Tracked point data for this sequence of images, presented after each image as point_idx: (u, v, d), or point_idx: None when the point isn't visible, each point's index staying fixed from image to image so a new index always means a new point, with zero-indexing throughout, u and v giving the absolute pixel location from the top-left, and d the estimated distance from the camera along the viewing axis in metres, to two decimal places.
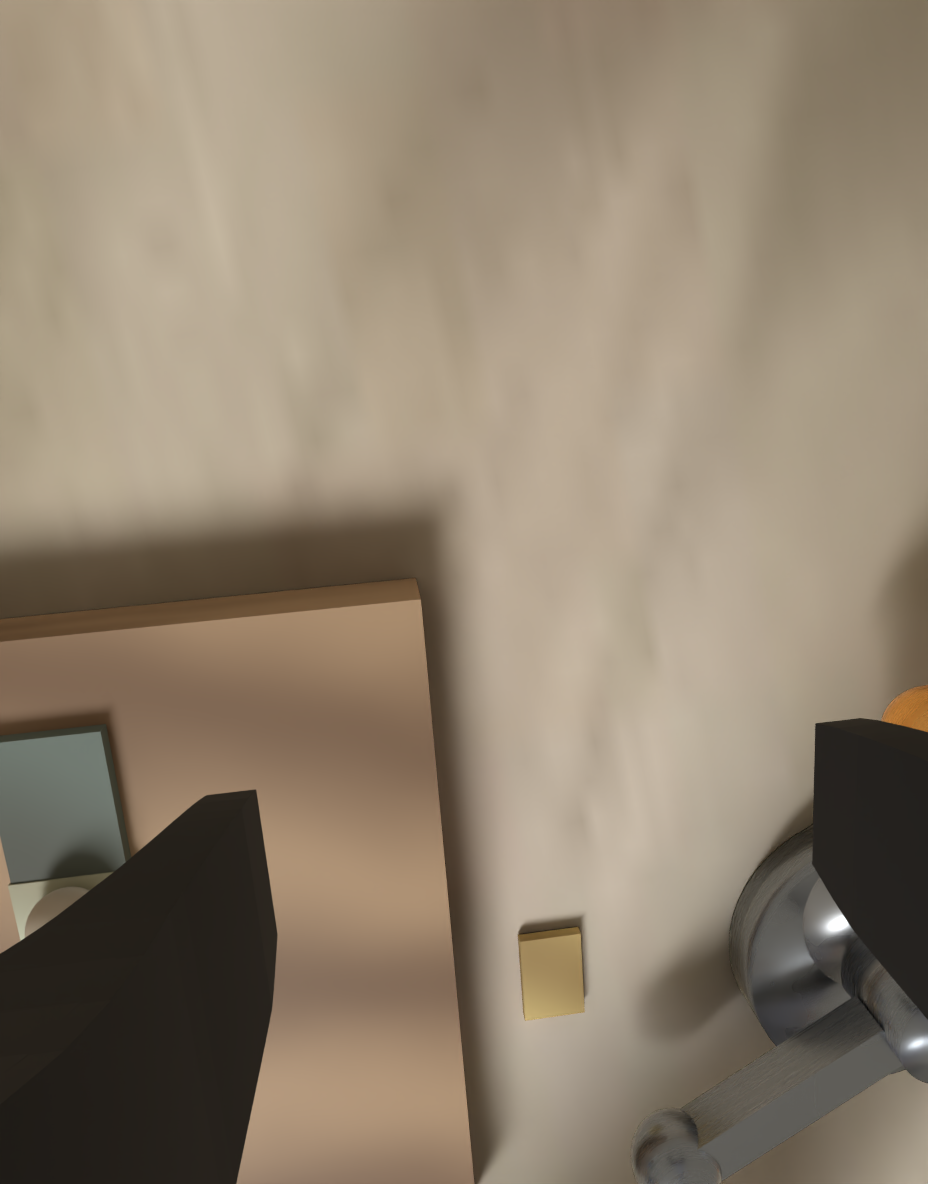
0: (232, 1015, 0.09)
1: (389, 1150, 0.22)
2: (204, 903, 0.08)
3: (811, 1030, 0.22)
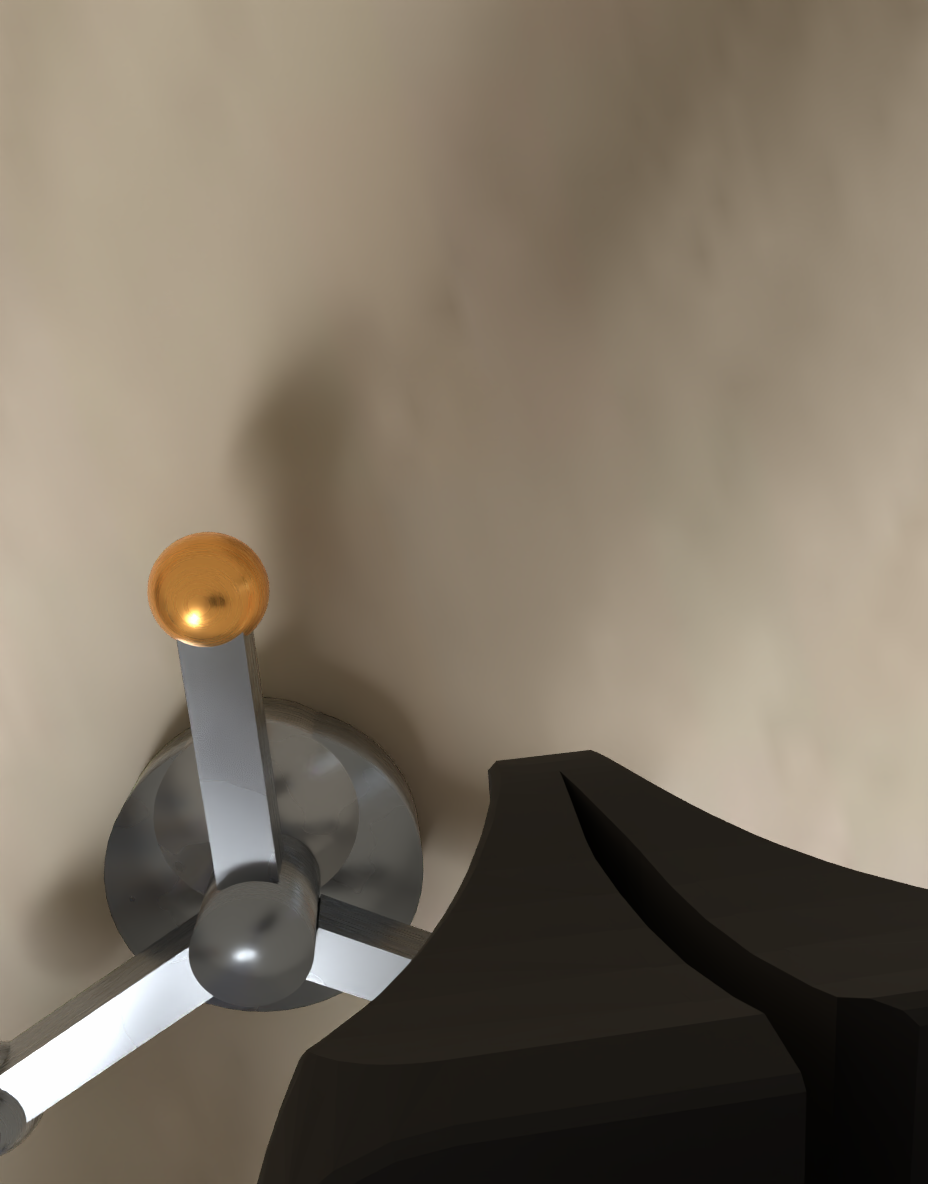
0: None
1: None
2: None
3: (149, 949, 0.19)
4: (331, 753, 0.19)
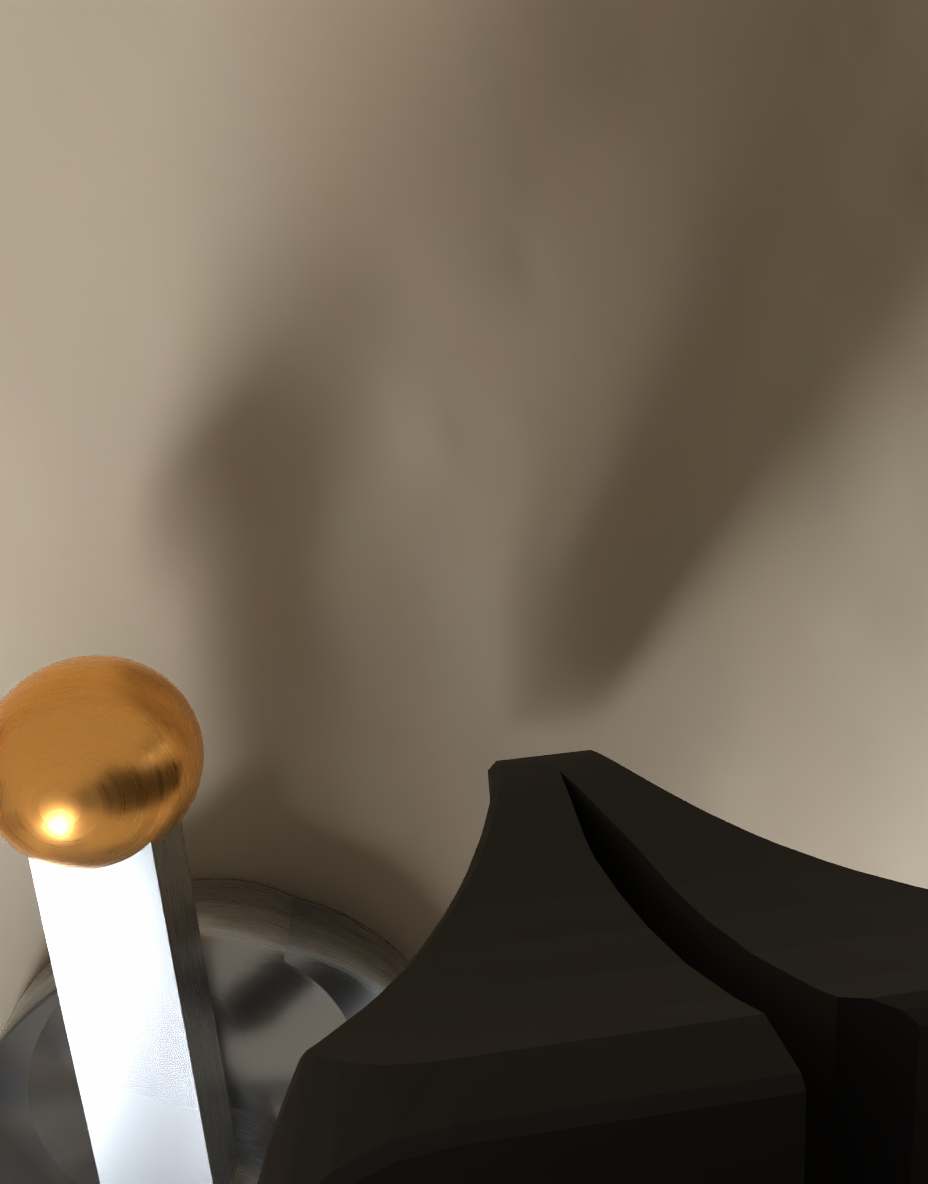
0: None
1: None
2: None
3: None
4: (316, 986, 0.12)
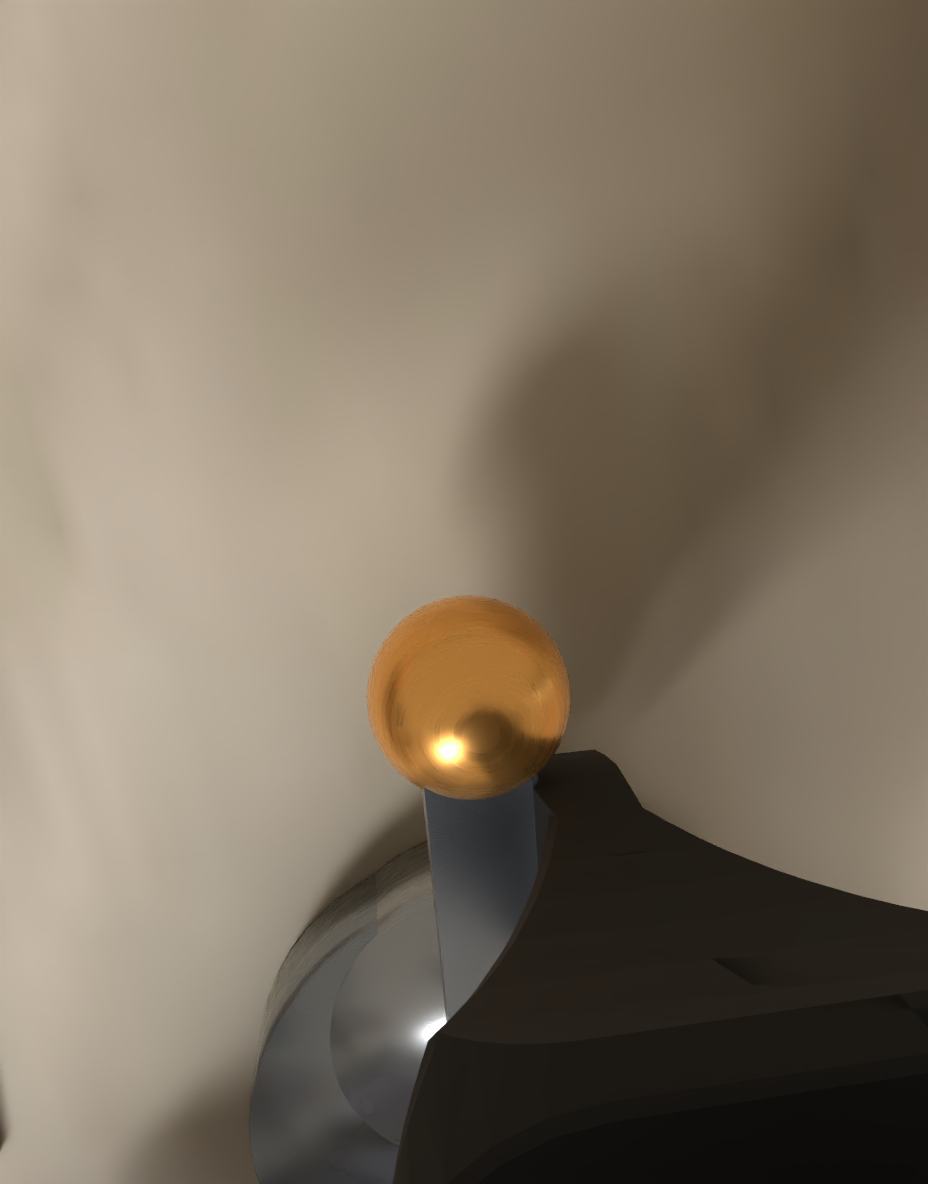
0: None
1: None
2: None
3: None
4: None
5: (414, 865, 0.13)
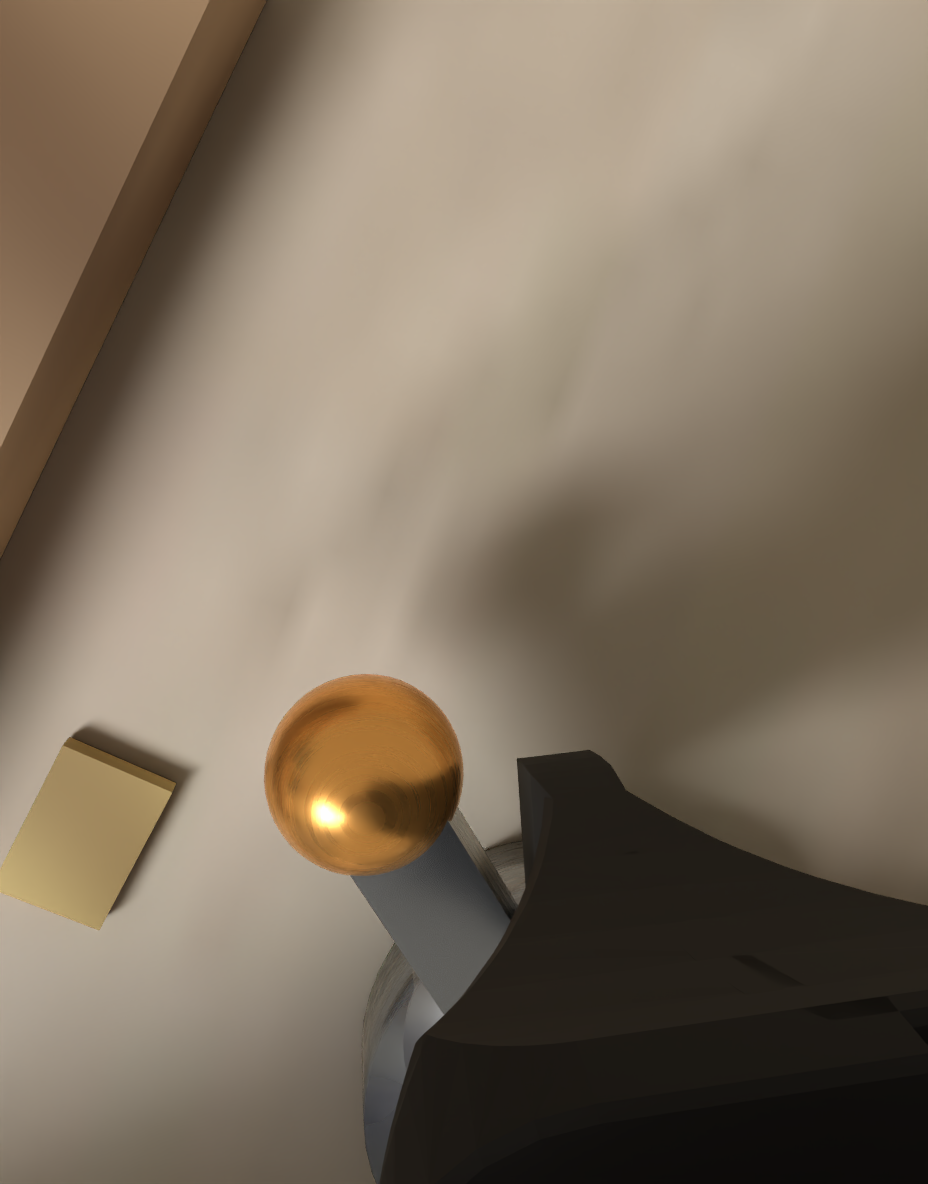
0: None
1: None
2: None
3: None
4: None
5: None
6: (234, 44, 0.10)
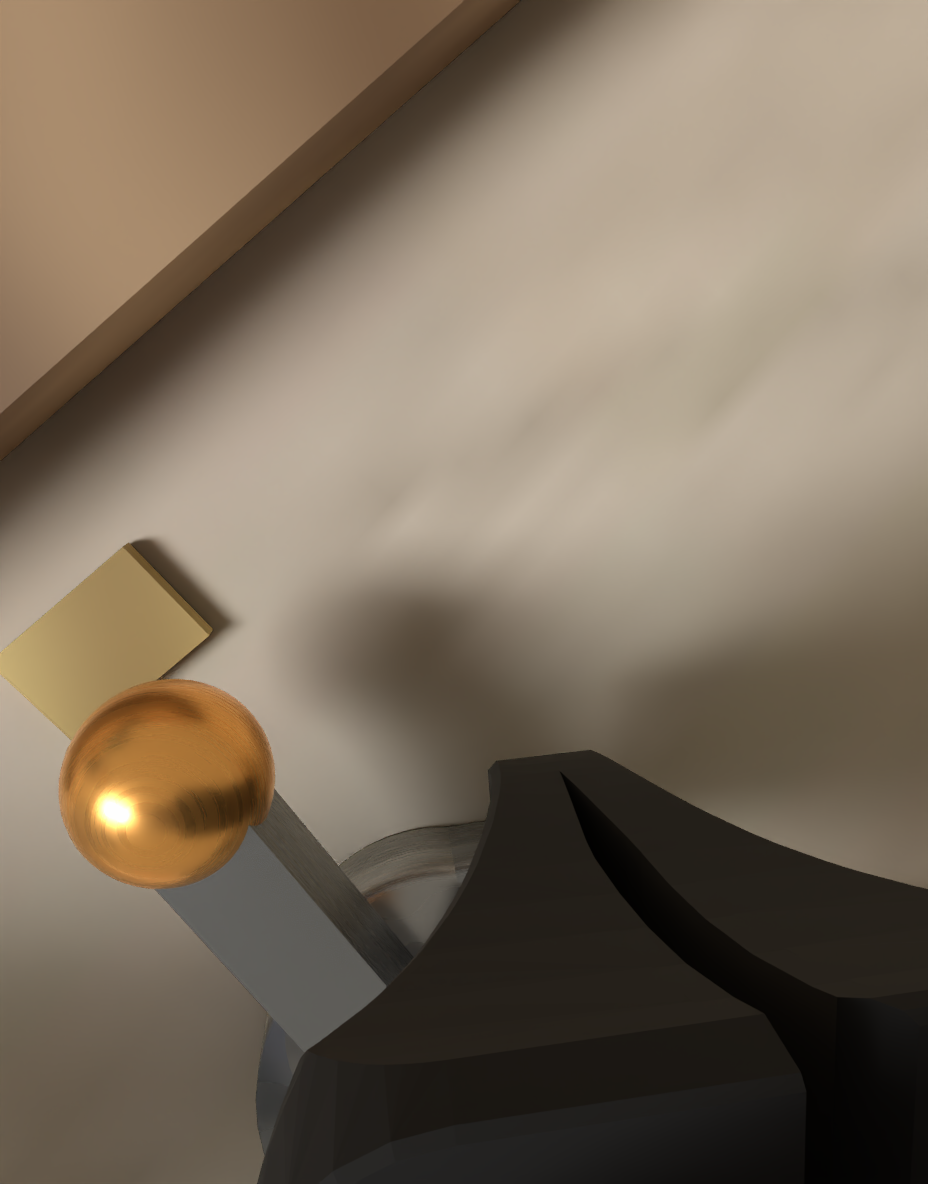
0: None
1: None
2: None
3: None
4: None
5: None
6: None
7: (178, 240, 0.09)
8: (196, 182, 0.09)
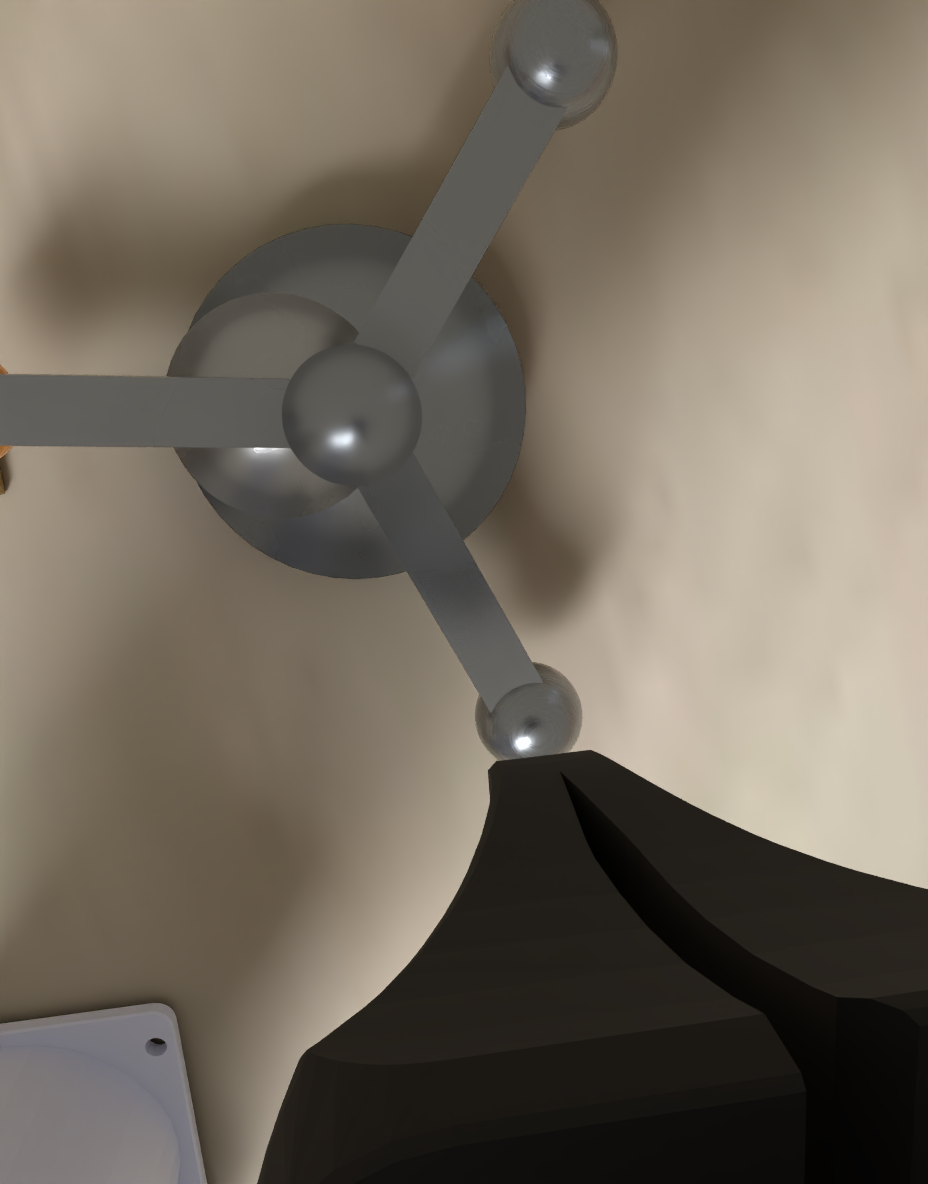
0: None
1: None
2: None
3: None
4: (206, 315, 0.17)
5: None
6: None
7: None
8: None
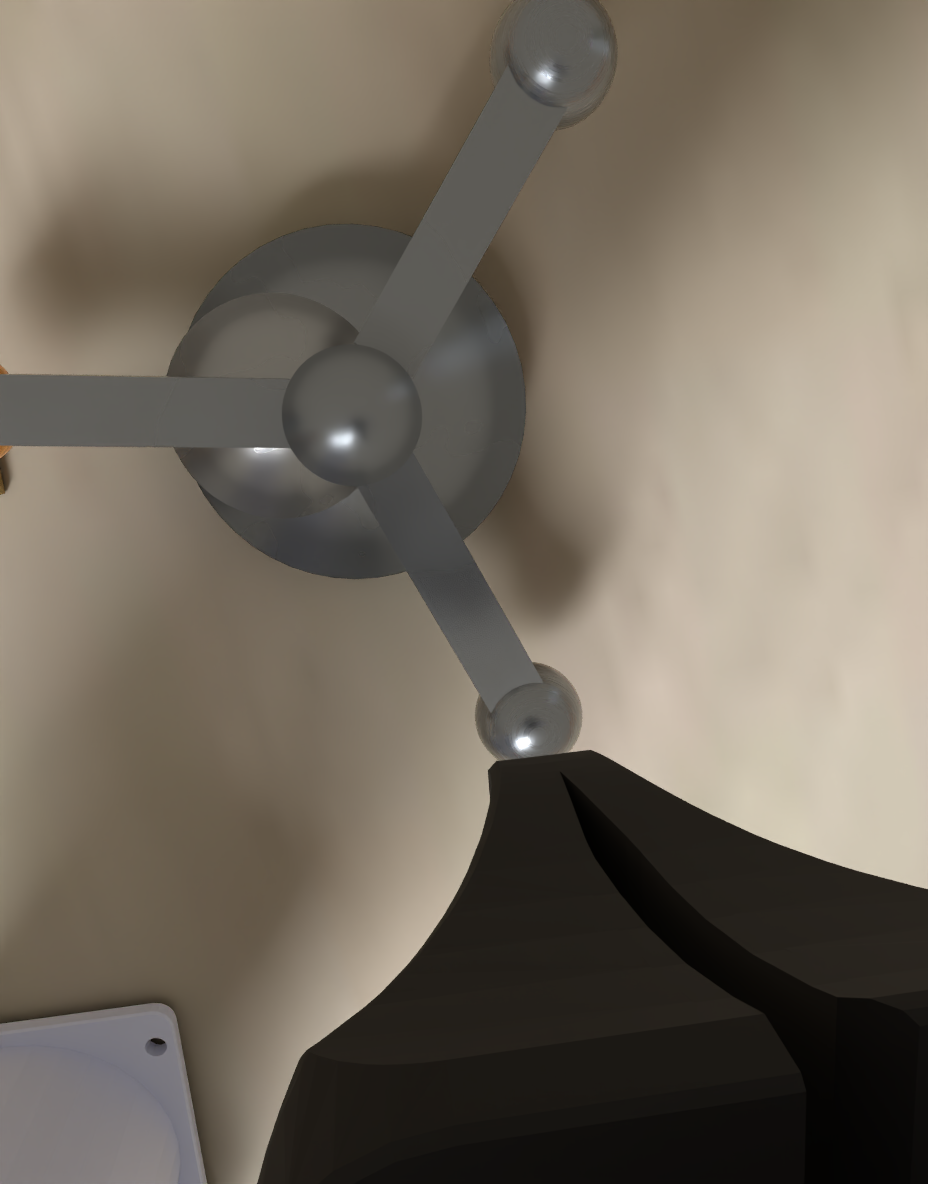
0: None
1: None
2: None
3: None
4: (206, 315, 0.17)
5: None
6: None
7: None
8: None
